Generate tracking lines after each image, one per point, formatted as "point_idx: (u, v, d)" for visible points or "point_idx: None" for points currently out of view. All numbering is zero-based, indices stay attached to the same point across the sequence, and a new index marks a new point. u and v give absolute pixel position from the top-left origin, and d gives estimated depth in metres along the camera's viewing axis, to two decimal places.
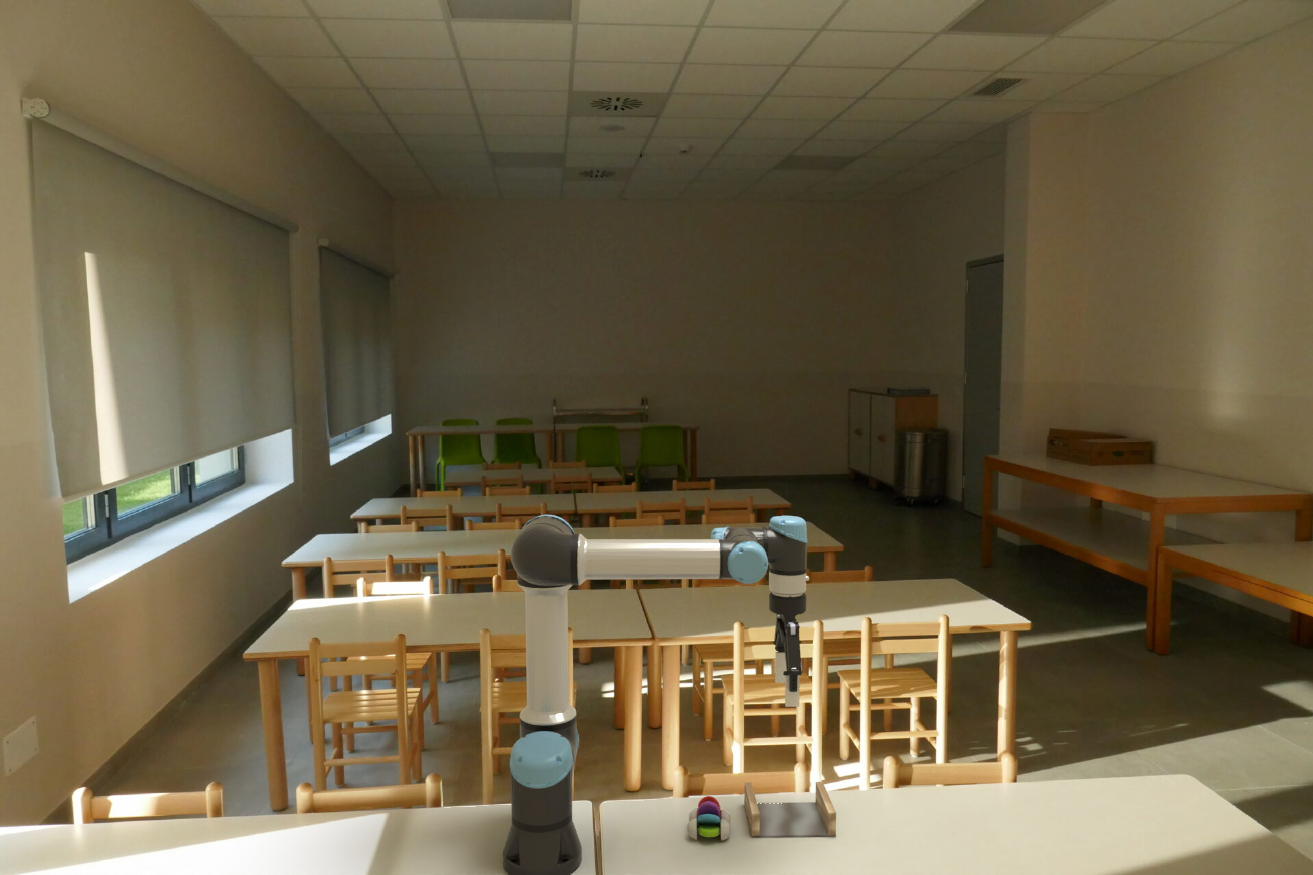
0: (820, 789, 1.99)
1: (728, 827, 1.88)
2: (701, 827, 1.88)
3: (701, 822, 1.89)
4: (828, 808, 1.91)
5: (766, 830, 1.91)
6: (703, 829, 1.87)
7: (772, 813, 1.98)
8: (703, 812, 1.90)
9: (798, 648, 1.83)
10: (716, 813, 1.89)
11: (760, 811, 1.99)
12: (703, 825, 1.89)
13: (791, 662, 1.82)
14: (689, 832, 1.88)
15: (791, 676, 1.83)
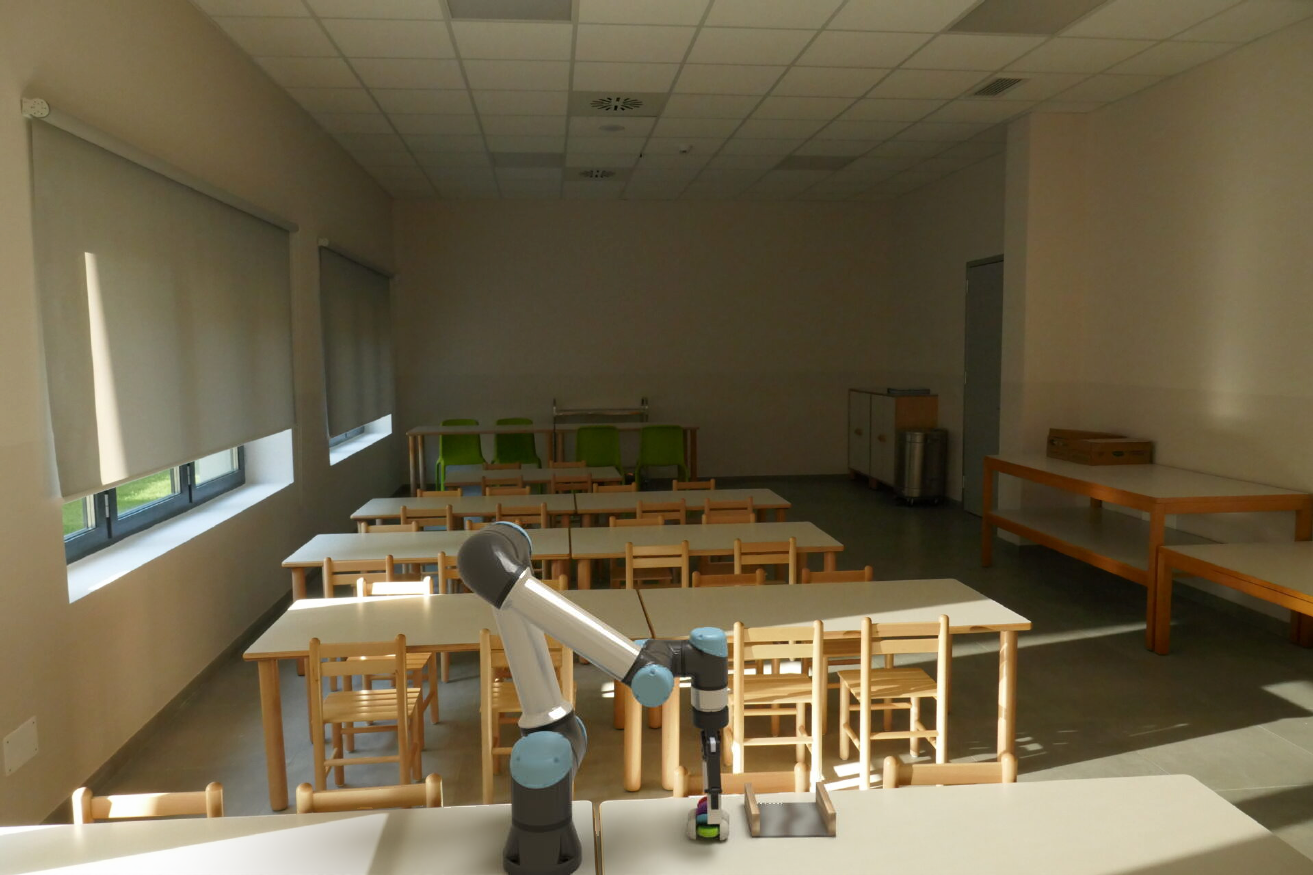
0: (820, 789, 1.99)
1: (727, 827, 1.88)
2: (700, 827, 1.88)
3: (700, 822, 1.89)
4: (828, 808, 1.91)
5: (766, 830, 1.91)
6: (702, 829, 1.87)
7: (772, 813, 1.98)
8: (702, 812, 1.90)
9: (718, 766, 1.82)
10: None
11: (760, 811, 1.99)
12: (702, 825, 1.89)
13: (711, 781, 1.81)
14: (688, 832, 1.88)
15: (712, 794, 1.82)
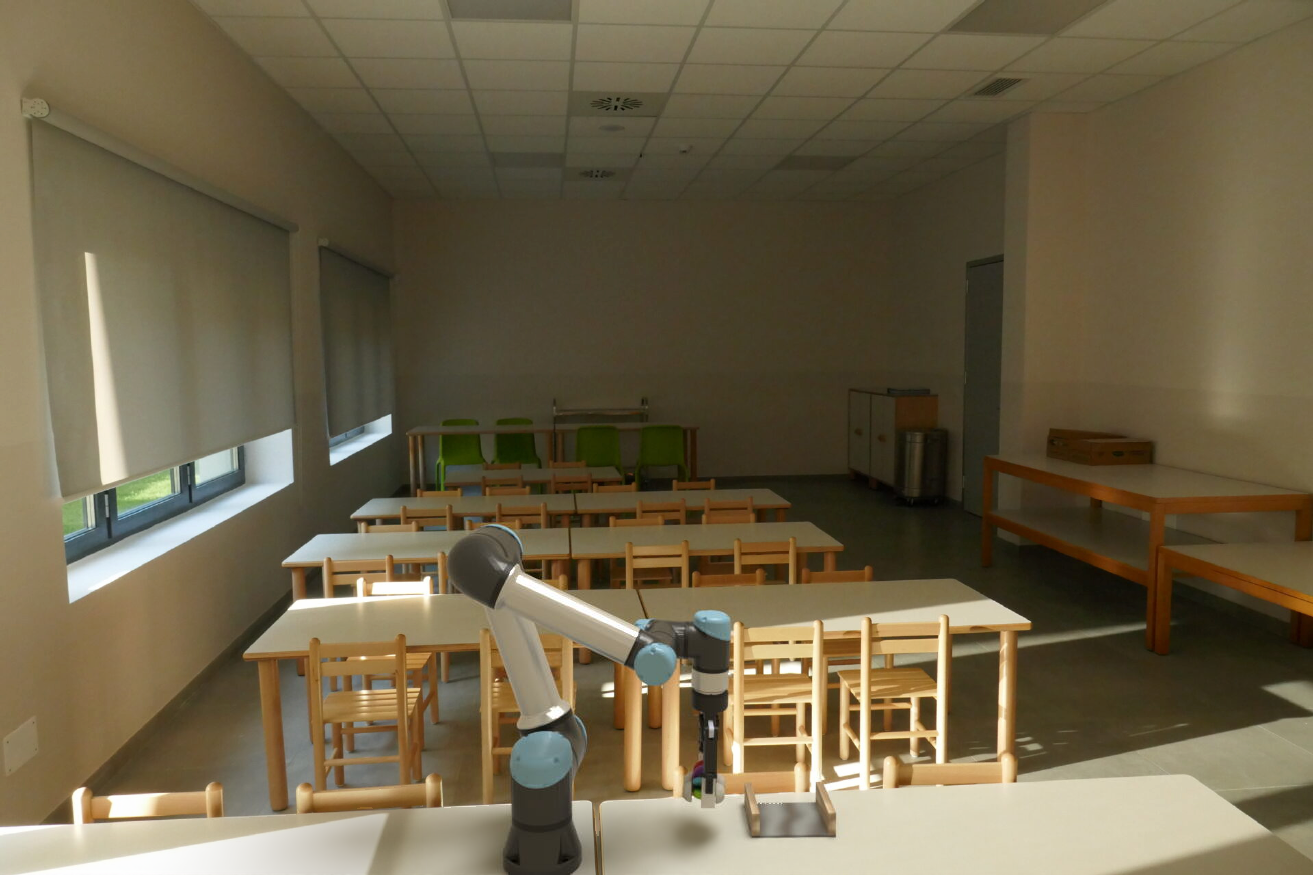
0: (820, 789, 1.99)
1: (723, 791, 1.87)
2: (696, 789, 1.87)
3: (696, 785, 1.88)
4: (828, 808, 1.91)
5: (766, 830, 1.91)
6: (698, 792, 1.86)
7: (772, 813, 1.98)
8: (698, 775, 1.89)
9: (715, 752, 1.82)
10: None
11: (760, 811, 1.99)
12: (698, 788, 1.88)
13: (707, 766, 1.82)
14: (684, 794, 1.87)
15: (707, 779, 1.83)
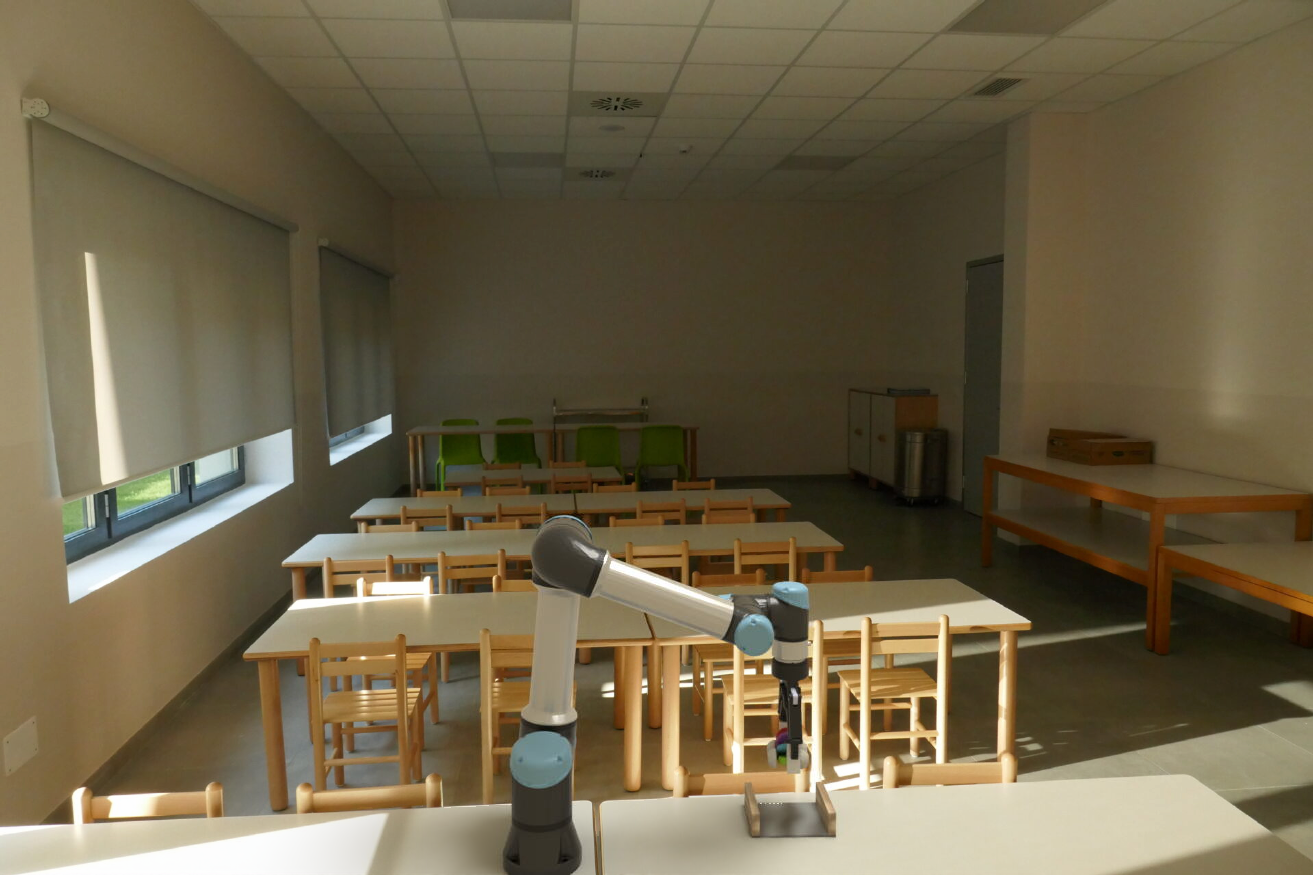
0: (820, 789, 1.99)
1: (807, 756, 1.92)
2: (780, 756, 1.92)
3: (780, 751, 1.93)
4: (828, 808, 1.91)
5: (766, 830, 1.91)
6: (783, 758, 1.91)
7: (772, 813, 1.98)
8: (782, 742, 1.94)
9: (800, 718, 1.87)
10: None
11: (760, 811, 1.99)
12: (782, 754, 1.93)
13: (793, 732, 1.87)
14: (769, 761, 1.92)
15: (792, 744, 1.88)
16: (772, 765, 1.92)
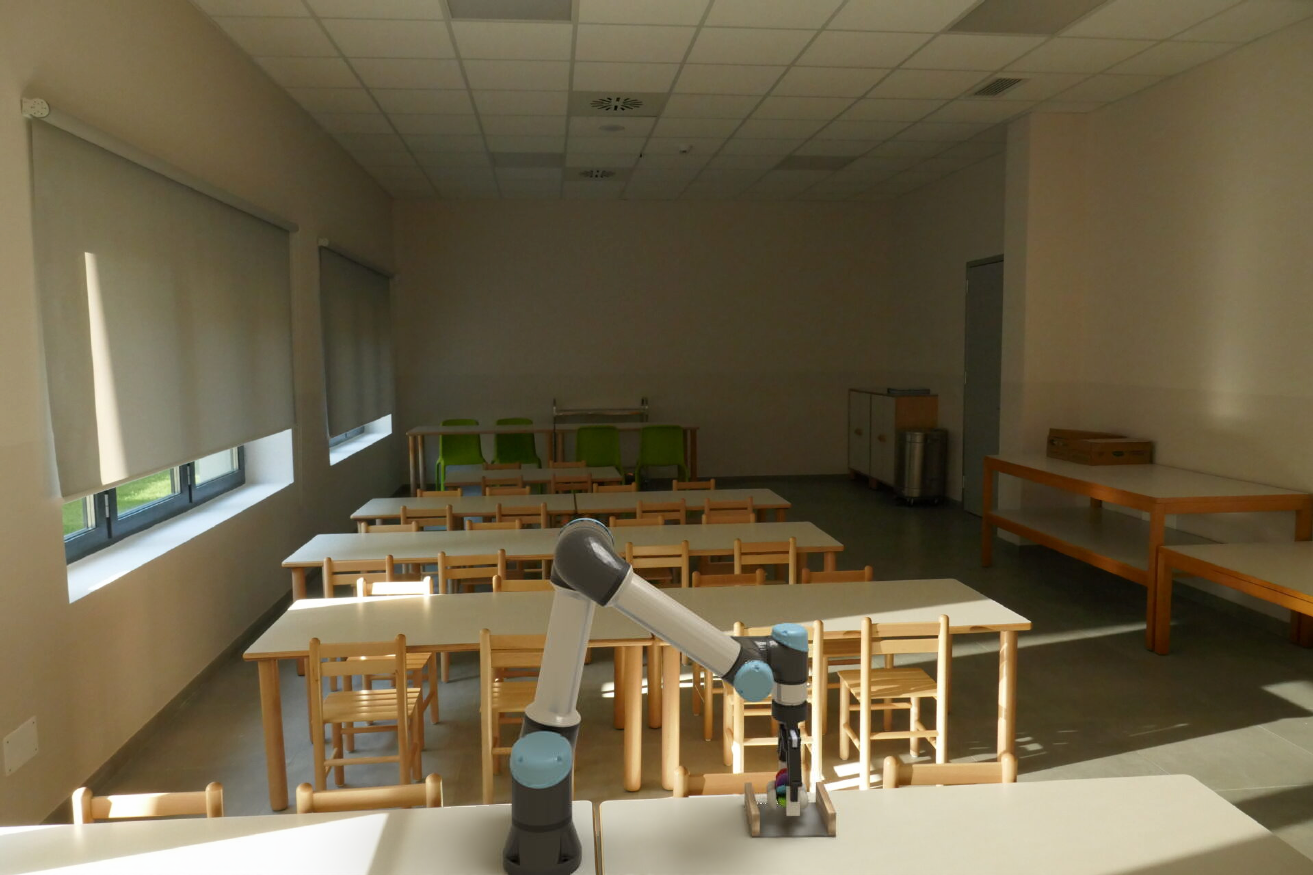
0: (820, 789, 1.99)
1: (807, 797, 1.93)
2: (780, 797, 1.93)
3: (780, 793, 1.94)
4: (828, 808, 1.91)
5: (766, 830, 1.91)
6: (782, 799, 1.92)
7: (772, 813, 1.98)
8: (781, 783, 1.95)
9: (799, 761, 1.88)
10: None
11: (760, 811, 1.99)
12: (782, 796, 1.94)
13: (792, 775, 1.87)
14: (769, 803, 1.93)
15: (792, 787, 1.89)
16: (772, 807, 1.93)
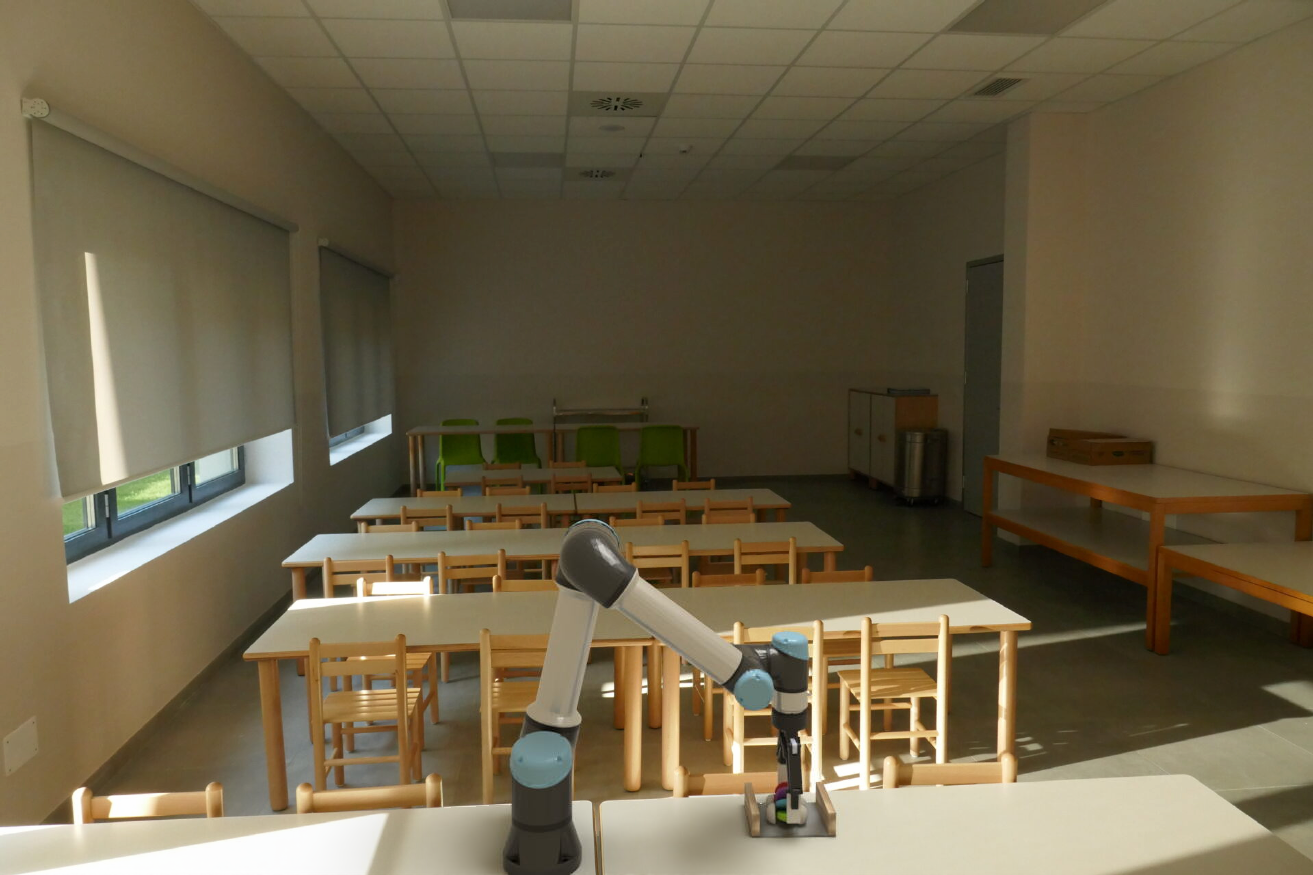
0: (820, 789, 1.99)
1: (806, 812, 1.93)
2: (779, 811, 1.93)
3: (779, 807, 1.94)
4: (828, 808, 1.91)
5: (766, 830, 1.91)
6: (782, 813, 1.92)
7: None
8: (781, 797, 1.95)
9: (799, 767, 1.87)
10: None
11: (760, 811, 1.99)
12: (781, 810, 1.94)
13: (792, 782, 1.86)
14: (768, 816, 1.93)
15: (792, 794, 1.88)
16: (771, 821, 1.93)
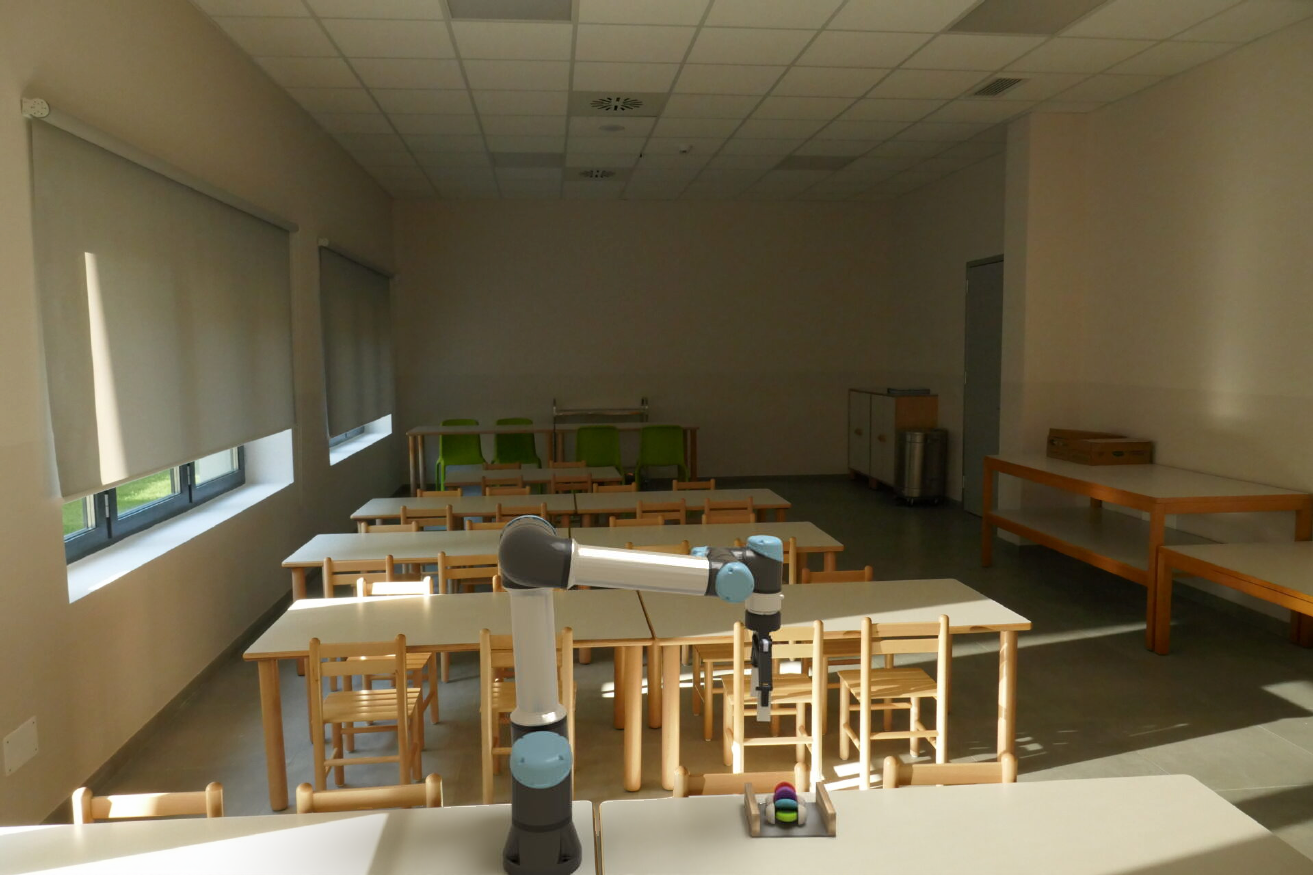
0: (820, 789, 1.99)
1: (805, 812, 1.93)
2: (779, 811, 1.93)
3: (778, 807, 1.94)
4: (828, 808, 1.91)
5: (766, 830, 1.91)
6: (781, 813, 1.92)
7: None
8: (780, 797, 1.95)
9: (770, 664, 1.89)
10: (793, 798, 1.95)
11: (760, 811, 1.99)
12: (780, 810, 1.94)
13: (763, 678, 1.88)
14: (767, 816, 1.93)
15: (763, 691, 1.89)
16: (770, 821, 1.93)
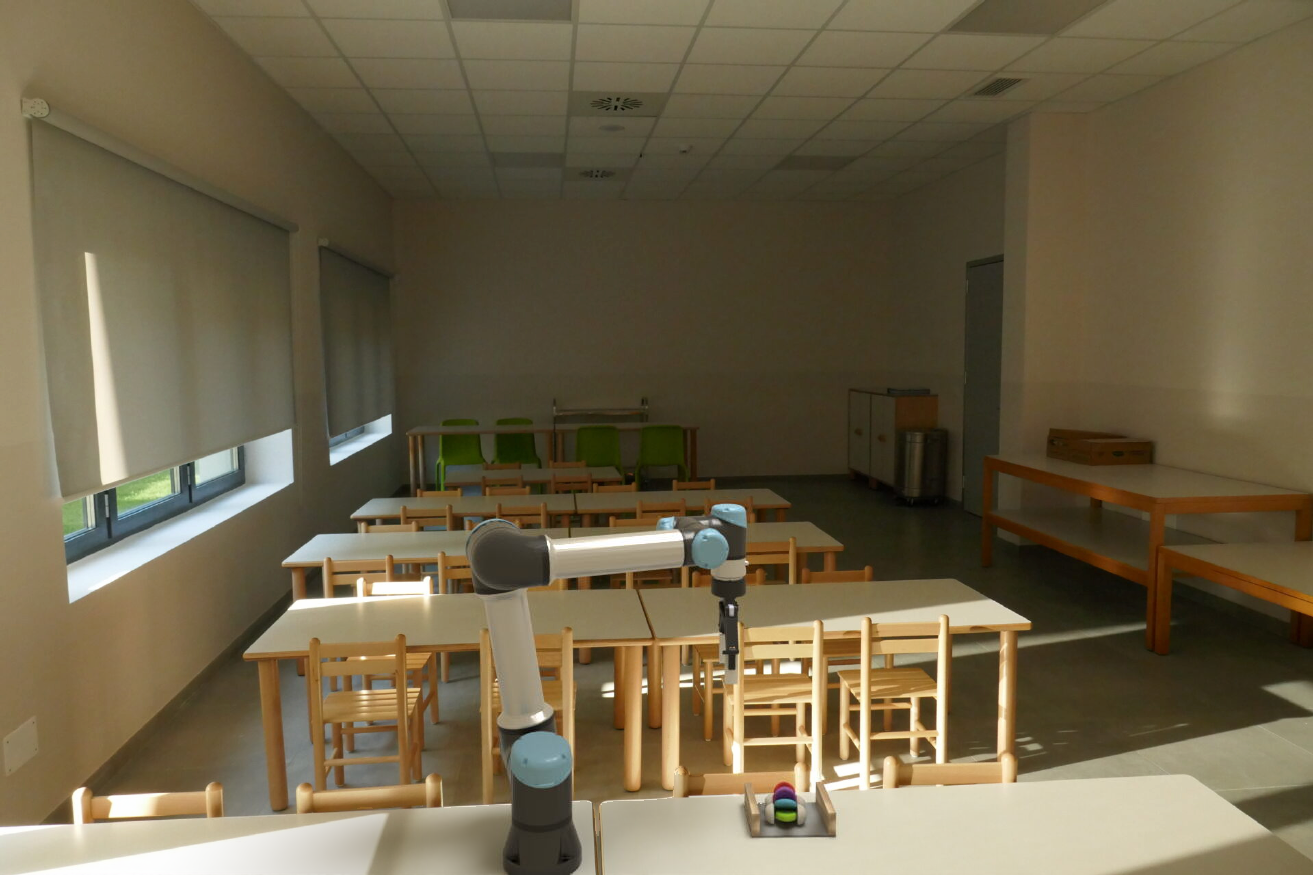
0: (820, 789, 1.99)
1: (805, 812, 1.93)
2: (778, 811, 1.93)
3: (778, 807, 1.94)
4: (828, 808, 1.91)
5: (766, 830, 1.91)
6: (780, 813, 1.92)
7: None
8: (779, 797, 1.95)
9: (736, 628, 1.94)
10: (792, 798, 1.95)
11: (760, 811, 1.99)
12: (780, 810, 1.94)
13: (729, 642, 1.93)
14: (766, 816, 1.93)
15: (729, 655, 1.94)
16: (770, 821, 1.93)
